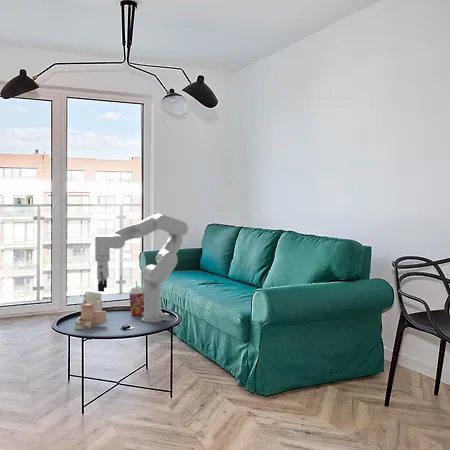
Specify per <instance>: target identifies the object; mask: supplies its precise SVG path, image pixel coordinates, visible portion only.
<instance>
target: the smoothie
mask: <svg viewBox="0 0 450 450" xmlns="http://www.w3.org/2000/svg"><path fill="white" fill-rule="evenodd" d="M128 293H129V306H130V307H129V308H130V314H131V316H134V317H138V316H141V315H142V313H143V311H144V289H143V288H142V287H141V286H139V285H138V281H137V280H136V281H135V285H134V286H132V287H131V288H130V290H129V292H128Z"/></svg>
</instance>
